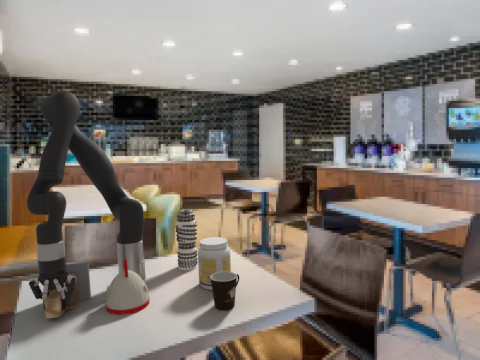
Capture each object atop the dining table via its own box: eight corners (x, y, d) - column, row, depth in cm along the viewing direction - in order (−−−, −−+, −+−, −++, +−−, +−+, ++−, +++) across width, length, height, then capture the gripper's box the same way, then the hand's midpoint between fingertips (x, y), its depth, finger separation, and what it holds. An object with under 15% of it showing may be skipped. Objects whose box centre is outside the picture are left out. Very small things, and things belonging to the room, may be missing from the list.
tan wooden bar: (72, 300, 120) (70, 283, 120) (59, 317, 109) (58, 298, 108) (59, 301, 120) (58, 284, 119) (45, 318, 108) (44, 299, 107)
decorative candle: (202, 264, 157) (200, 208, 155) (192, 271, 149) (189, 212, 146) (184, 262, 161) (181, 207, 158) (173, 269, 152) (170, 211, 149)
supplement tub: (223, 276, 143) (222, 234, 141) (236, 287, 132) (235, 242, 130) (194, 282, 137) (192, 239, 136) (205, 293, 126) (203, 247, 125)
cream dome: (147, 293, 128) (145, 252, 127) (151, 309, 115) (149, 264, 114) (105, 300, 123) (102, 258, 122) (105, 318, 110) (102, 271, 109)
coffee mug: (218, 314, 111) (216, 283, 110) (207, 303, 118) (206, 274, 117) (250, 305, 116) (250, 276, 115) (238, 296, 124) (237, 268, 123)
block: (79, 302, 122) (76, 272, 121) (74, 308, 117) (72, 278, 116) (54, 304, 121) (51, 274, 120) (48, 311, 116) (45, 280, 115)
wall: (91, 297, 126) (88, 261, 125) (89, 298, 125) (87, 262, 123) (48, 300, 124) (45, 264, 123) (47, 302, 123) (43, 265, 121)
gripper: (79, 250, 114) (83, 302, 116) (31, 254, 112) (36, 306, 114) (72, 258, 107) (76, 313, 109) (20, 261, 105) (26, 317, 107)
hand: (56, 309), depth 111 cm, fingers closed on tan wooden bar, 4 cm apart
